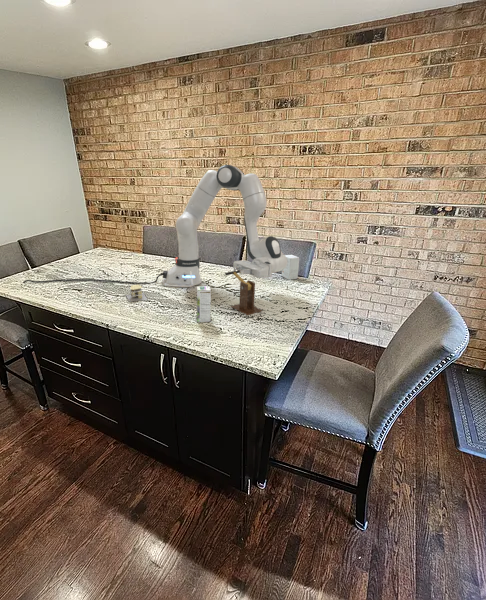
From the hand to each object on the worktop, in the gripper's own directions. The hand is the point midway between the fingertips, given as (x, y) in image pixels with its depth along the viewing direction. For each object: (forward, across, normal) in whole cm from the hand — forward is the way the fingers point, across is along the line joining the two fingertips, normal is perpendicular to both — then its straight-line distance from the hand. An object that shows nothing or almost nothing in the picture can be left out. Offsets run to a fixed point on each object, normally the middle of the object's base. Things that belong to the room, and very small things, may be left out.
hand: (237, 271), depth 158 cm
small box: (-52, -16, +16) cm, 57 cm away
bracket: (+2, +10, +16) cm, 19 cm away
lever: (+2, +5, +4) cm, 6 cm away
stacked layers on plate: (+37, -35, +17) cm, 54 cm away
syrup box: (+23, +7, +16) cm, 29 cm away
